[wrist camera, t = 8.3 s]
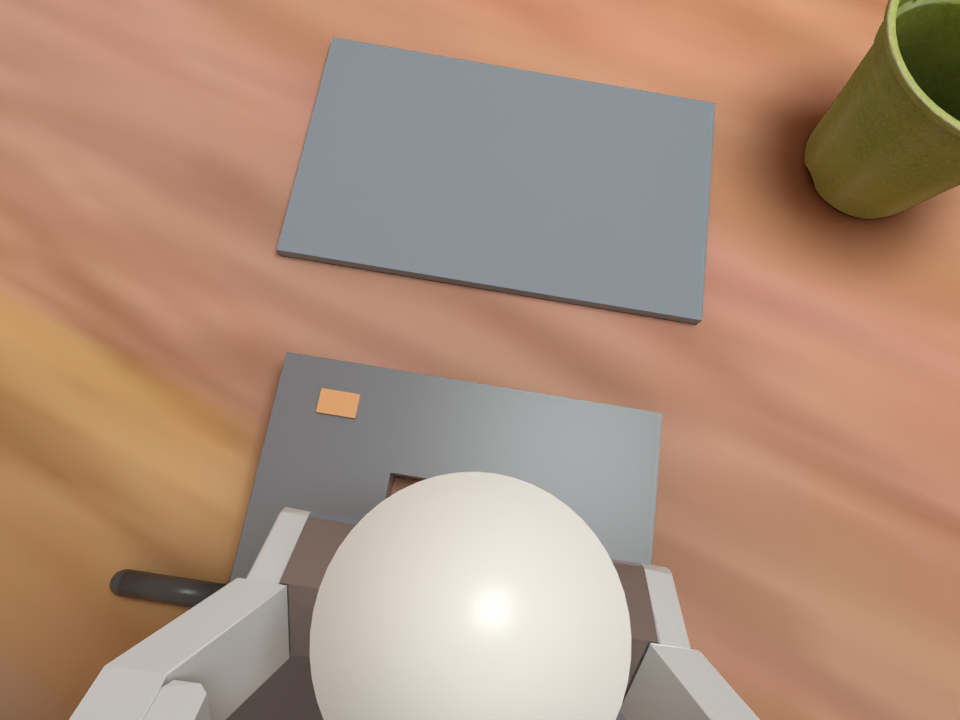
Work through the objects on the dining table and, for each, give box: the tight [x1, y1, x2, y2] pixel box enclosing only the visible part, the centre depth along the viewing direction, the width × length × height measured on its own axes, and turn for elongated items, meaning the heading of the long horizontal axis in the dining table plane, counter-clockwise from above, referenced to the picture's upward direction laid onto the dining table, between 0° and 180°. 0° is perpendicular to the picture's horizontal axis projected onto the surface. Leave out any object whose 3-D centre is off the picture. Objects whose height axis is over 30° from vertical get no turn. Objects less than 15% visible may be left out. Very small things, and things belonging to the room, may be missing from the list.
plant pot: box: [804, 0, 960, 219], centre depth 27 cm, size 9×9×9 cm
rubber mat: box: [277, 37, 715, 324], centre depth 30 cm, size 20×12×1 cm, turn 81°
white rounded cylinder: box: [309, 472, 631, 720], centre depth 12 cm, size 5×5×8 cm
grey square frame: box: [110, 352, 663, 720], centre depth 24 cm, size 21×14×2 cm, turn 81°
